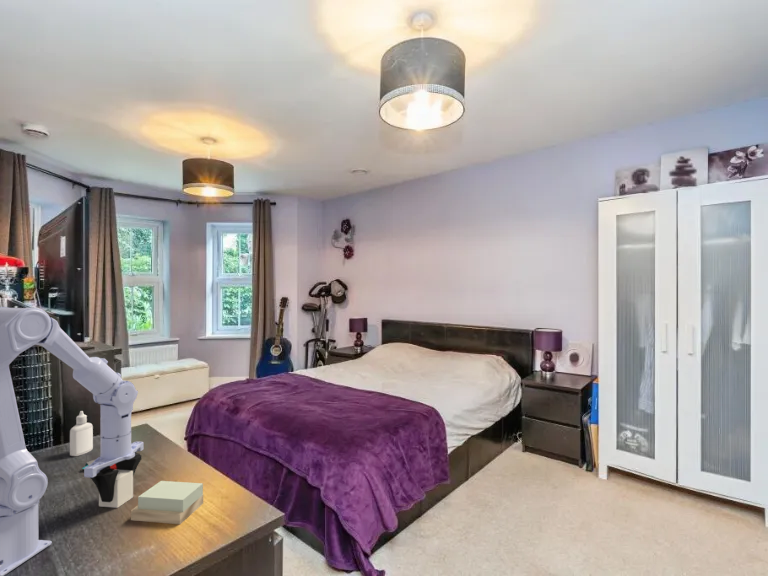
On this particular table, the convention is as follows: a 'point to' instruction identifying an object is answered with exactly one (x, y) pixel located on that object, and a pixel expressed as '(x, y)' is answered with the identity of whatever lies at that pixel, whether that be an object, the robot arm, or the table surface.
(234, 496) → the table surface
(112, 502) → the cream block
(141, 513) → the oak base slab
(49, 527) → the table surface
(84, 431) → the eye dropper bottle
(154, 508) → the sage top slab
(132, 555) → the table surface
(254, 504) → the table surface
